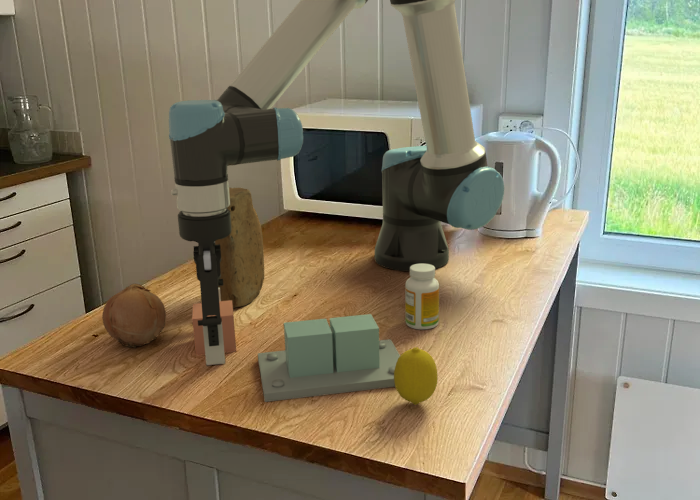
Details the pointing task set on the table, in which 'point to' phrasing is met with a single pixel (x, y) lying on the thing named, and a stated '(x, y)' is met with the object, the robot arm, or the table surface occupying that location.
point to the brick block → (227, 327)
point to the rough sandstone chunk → (242, 252)
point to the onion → (134, 316)
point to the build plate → (326, 381)
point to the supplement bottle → (422, 297)
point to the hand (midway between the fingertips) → (215, 343)
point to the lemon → (415, 375)
